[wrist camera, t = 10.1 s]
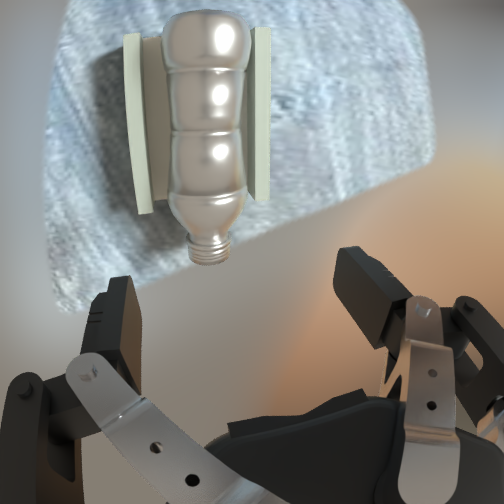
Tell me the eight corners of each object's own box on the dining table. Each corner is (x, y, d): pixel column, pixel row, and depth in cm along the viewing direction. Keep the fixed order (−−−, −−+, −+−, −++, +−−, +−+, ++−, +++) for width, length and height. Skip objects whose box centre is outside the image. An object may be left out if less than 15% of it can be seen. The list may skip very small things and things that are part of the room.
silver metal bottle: (220, -7, 13) (220, 285, 23) (268, 16, 18) (259, 246, 28) (142, 13, 15) (156, 262, 25) (198, 24, 20) (200, 231, 31)
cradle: (130, 42, 20) (123, 35, 16) (257, 35, 22) (270, 27, 18) (142, 197, 27) (138, 214, 24) (257, 185, 29) (269, 200, 26)
